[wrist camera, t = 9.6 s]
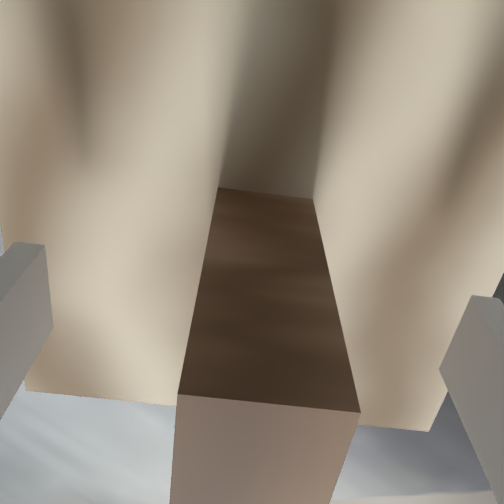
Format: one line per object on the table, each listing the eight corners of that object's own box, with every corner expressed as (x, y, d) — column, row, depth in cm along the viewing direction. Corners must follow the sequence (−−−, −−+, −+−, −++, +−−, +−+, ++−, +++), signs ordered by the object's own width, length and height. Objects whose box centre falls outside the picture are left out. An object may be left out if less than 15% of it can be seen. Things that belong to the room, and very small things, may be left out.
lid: (612, -21, 14) (1229, -1, 5) (421, 410, 23) (520, 686, 14) (-29, -120, 13) (-650, -310, 4) (36, 370, 22) (-112, 638, 13)
